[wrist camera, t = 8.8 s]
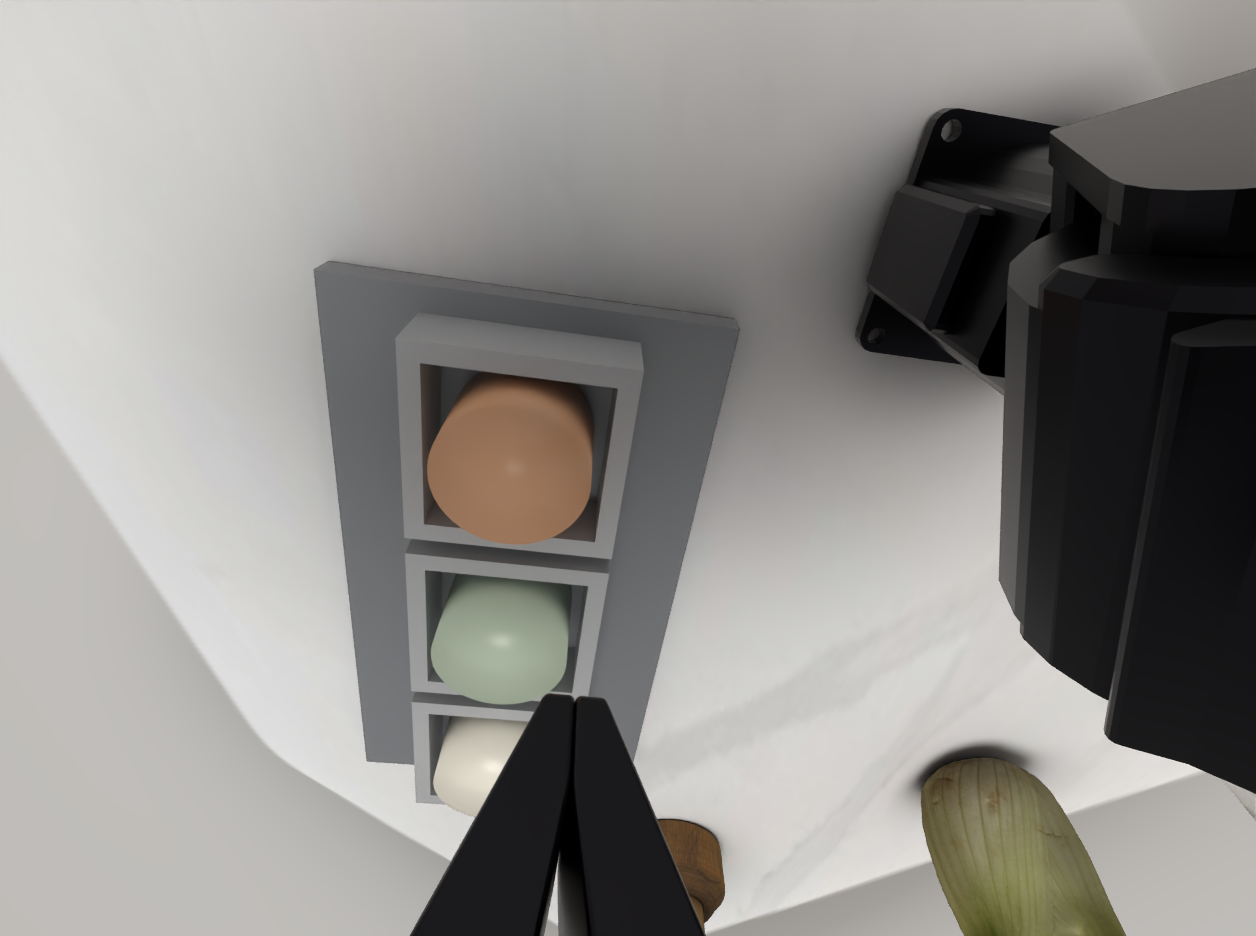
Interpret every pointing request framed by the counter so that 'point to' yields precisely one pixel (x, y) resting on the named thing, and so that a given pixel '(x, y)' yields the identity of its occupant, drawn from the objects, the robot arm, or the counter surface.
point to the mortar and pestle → (697, 864)
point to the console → (438, 548)
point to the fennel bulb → (1010, 855)
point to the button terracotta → (514, 458)
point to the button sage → (502, 638)
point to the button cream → (473, 760)
